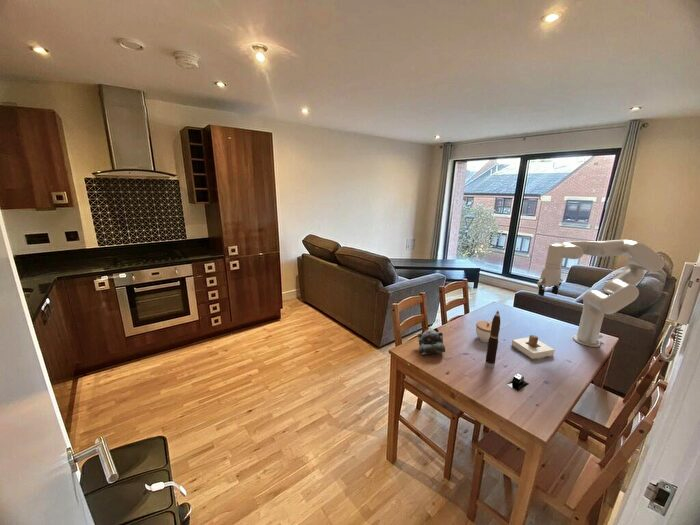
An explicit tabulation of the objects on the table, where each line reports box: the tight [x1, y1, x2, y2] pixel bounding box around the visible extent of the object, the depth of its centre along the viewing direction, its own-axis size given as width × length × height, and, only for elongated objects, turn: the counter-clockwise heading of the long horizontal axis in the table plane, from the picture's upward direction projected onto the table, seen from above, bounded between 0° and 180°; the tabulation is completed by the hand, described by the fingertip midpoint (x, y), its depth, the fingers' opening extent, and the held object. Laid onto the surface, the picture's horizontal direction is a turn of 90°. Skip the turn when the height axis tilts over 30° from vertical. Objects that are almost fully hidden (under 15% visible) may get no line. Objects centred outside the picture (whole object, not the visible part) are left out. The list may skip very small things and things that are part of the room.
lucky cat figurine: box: [417, 327, 446, 356], centre depth 157 cm, size 15×12×14 cm
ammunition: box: [484, 310, 501, 369], centre depth 142 cm, size 5×5×30 cm
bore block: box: [511, 336, 555, 361], centre depth 158 cm, size 14×14×4 cm
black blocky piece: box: [506, 373, 530, 392], centre depth 131 cm, size 12×7×5 cm, turn 123°
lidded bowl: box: [475, 320, 501, 343], centre depth 169 cm, size 13×13×11 cm
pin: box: [528, 334, 539, 348], centre depth 157 cm, size 4×4×8 cm
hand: (547, 294), depth 164 cm, fingers open, 9 cm apart
